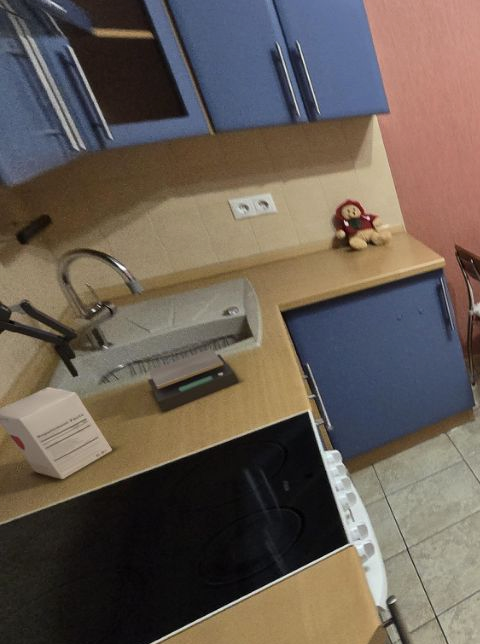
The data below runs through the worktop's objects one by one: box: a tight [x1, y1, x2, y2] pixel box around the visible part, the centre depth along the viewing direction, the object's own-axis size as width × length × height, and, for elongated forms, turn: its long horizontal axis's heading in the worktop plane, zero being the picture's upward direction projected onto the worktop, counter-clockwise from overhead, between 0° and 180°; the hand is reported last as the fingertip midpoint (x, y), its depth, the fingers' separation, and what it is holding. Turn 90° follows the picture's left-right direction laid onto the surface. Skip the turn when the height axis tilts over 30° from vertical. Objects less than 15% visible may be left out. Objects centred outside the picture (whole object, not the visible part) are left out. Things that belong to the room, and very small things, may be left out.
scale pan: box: [148, 348, 224, 389], centre depth 131 cm, size 12×13×1 cm
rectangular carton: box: [0, 386, 113, 480], centre depth 105 cm, size 9×9×15 cm
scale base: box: [147, 353, 239, 413], centre depth 132 cm, size 15×15×3 cm
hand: (27, 390), depth 101 cm, fingers open, 13 cm apart
